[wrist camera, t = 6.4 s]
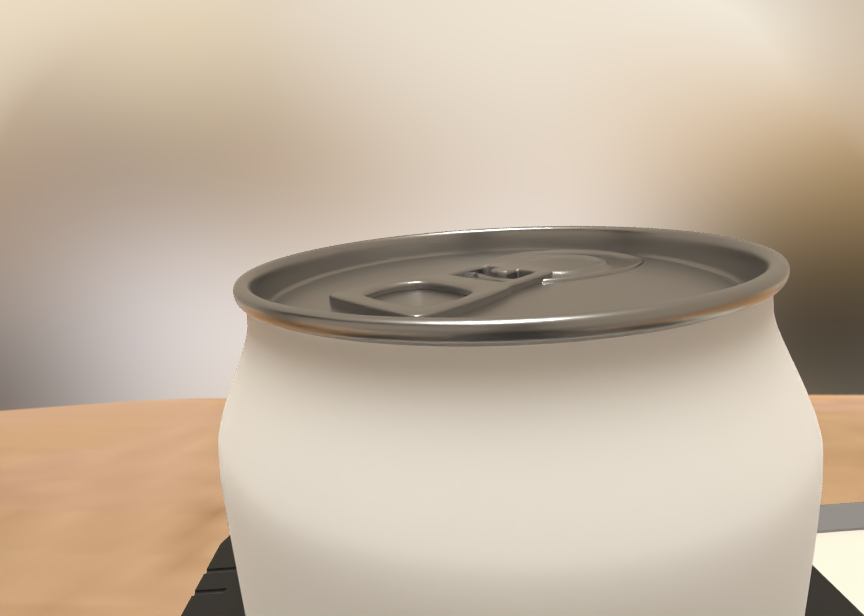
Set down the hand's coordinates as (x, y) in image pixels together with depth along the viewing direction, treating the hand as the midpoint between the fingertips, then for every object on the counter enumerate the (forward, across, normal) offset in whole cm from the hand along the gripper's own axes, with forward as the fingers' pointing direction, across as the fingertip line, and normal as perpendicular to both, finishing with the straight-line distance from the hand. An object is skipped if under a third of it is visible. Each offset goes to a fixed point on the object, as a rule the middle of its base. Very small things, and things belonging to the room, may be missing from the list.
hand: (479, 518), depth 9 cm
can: (-2, 0, +7) cm, 7 cm away
